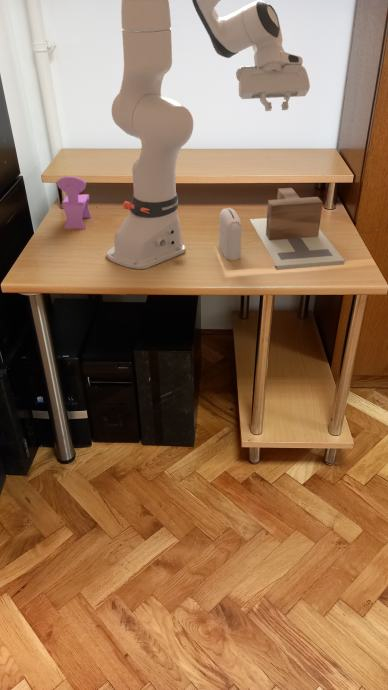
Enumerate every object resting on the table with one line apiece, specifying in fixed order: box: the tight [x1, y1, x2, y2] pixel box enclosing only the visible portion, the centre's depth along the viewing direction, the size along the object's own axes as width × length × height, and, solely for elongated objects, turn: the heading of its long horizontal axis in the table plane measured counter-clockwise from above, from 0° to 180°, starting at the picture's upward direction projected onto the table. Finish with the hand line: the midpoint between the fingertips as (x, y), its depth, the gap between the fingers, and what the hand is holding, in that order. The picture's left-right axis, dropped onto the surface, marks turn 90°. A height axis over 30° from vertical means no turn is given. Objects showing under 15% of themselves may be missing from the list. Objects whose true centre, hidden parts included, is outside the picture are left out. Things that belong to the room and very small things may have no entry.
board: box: [249, 217, 345, 271], centre depth 160 cm, size 30×18×1 cm, turn 9°
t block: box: [266, 187, 324, 240], centre depth 162 cm, size 12×14×10 cm
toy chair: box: [56, 175, 92, 230], centre depth 169 cm, size 8×9×15 cm
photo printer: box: [218, 207, 242, 261], centre depth 151 cm, size 10×4×12 cm, turn 11°
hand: (277, 109), depth 164 cm, fingers open, 3 cm apart
